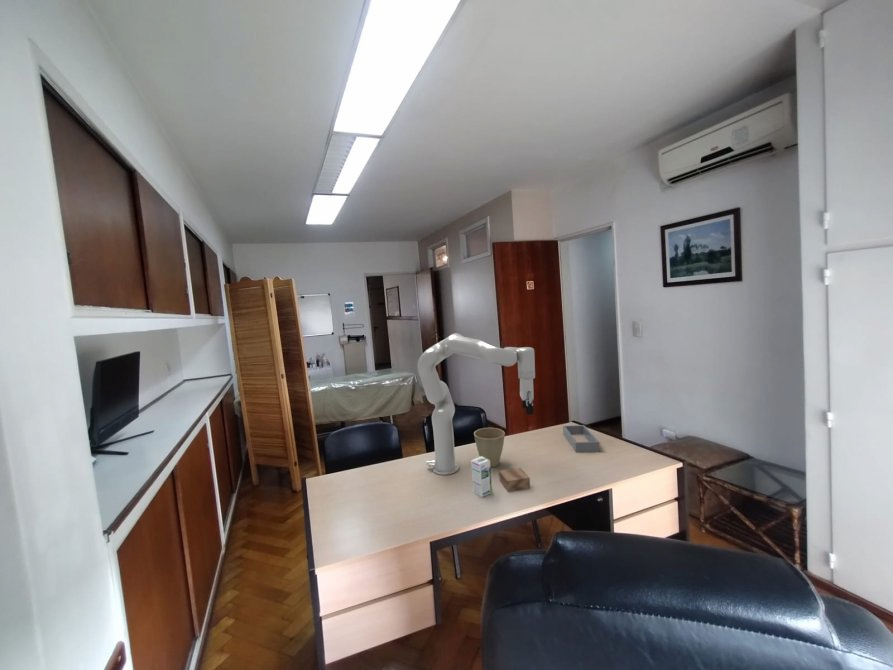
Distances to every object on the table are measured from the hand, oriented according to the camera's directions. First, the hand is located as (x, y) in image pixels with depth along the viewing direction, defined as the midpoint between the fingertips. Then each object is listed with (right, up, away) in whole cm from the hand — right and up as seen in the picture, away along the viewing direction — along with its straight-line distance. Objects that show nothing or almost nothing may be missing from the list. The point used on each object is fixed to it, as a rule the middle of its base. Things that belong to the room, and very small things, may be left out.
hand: (527, 411), depth 174 cm
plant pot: (-16, -29, +12) cm, 35 cm away
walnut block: (-8, -31, -9) cm, 33 cm away
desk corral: (+36, -24, +33) cm, 54 cm away
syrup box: (-22, -32, -14) cm, 41 cm away
